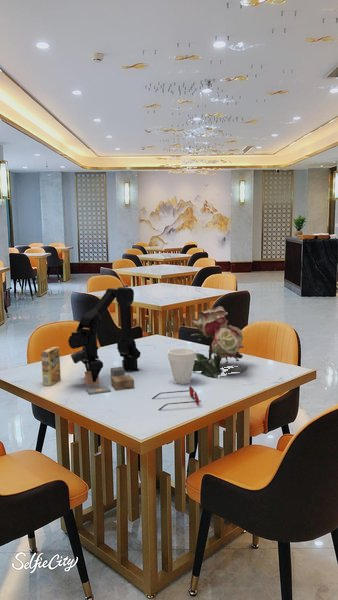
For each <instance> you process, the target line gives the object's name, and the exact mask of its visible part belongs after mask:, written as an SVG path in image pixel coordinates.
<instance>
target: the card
mask: <svg viewBox="0 0 338 600" xmlns="http://www.w3.org/2000/svg"><path fill="white" fill-rule="evenodd" d="M85 391H86V392H87V393H88V395H89V396H90V395H98V394H105V393H111V392H112V391H111V388H110V387H109V386H108V385H104V386H96V387H88V388H85Z"/></svg>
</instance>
